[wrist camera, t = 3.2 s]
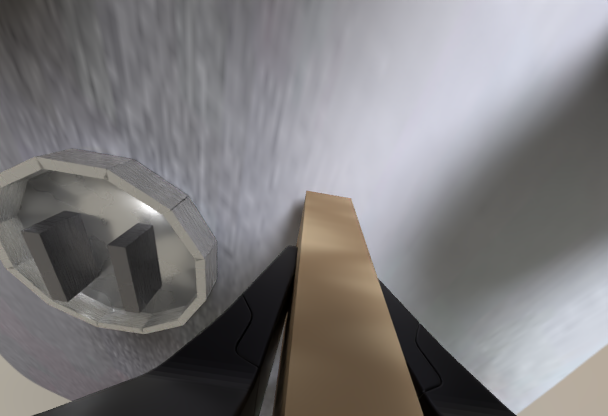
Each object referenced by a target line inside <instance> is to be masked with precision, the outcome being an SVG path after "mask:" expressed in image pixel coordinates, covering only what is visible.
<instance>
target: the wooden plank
mask: <svg viewBox="0 0 608 416" xmlns="http://www.w3.org/2000/svg"><path fill="white" fill-rule="evenodd" d="M296 247H298V252H297V263H296V272H295V277H294V282H293V287H292V292H291V297H290V302H289V307H288V311H287V315H286V319H285V326H284V334H283V341H282V348H281V356H280V363H279V371H278V378H277V385H276V393H275V400H274V407H273V415H272V416H424V415H423V412H422V409H421V406H420V403H419V400H418V397H417V394H416V391H415V388H414V385H413V382H412V379H411V376H410V373H409V370H408V367H407V364H406V361H405V358H404V355H403V352H402V350H401V347H400V344H399V341H398V338H397V335H396V332H395V329H394V326H393V323H392V320H391V317H390V314H389V311H388V308H387V305H386V302H385V299H384V296H383V293H382V290H381V287H380V284H379V281H378V278H377V275H376V272H375V269H374V266H373V263H372V260H371V257H370V254H369V251H368V248H367V245H366V242H365V239H364V236H363V233H362V230H361V227H360V224H359V221H358V218H357V215H356V212H355V209H354V206H353V203H352V200H351V198H345V197H340V196H334V195H328V194H322V193H317V192H311V191H306V197H305V202H304V207H303V212H302V218H301V223H300V228H299V234H298V239H297V244H296Z"/></svg>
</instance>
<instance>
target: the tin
mask: <svg viewBox="0 0 608 416" xmlns="http://www.w3.org/2000/svg"><path fill="white" fill-rule="evenodd" d="M0 259H1V261H2V263H3V265H4V267H5V268H6V269H7V270H8V271H9V272H10V273H12V274H13V275H14V276H15V277H16V278H18V279H19V280H20V281H21V282H22V283H23V284H25V285H26V286H27V287H28V288H29V289H30V290H32V291H33V292H34V293H35V294H36V295H38V296H39V297H40V298H41V299H42V300H43V301H45V302H46V303H47V304H49V305H50V306H52V307H55V308H57V309H59V310H61V311H63V312H65V313H68V314H70V315H72V316H74V317H76V318H79V319H81V320H83V321H85V322H87V323H90V324H92V325H94V326H96V327H97V326H98V327H100V328H107V329H113V330H120V331H126V332H133V333H140V334H148V333H152V332H156V331H161V330H165V329H169V328H174V327H178V326H182V325H184V324H185V323H186V322H187V320H188V319H189V318H190V317H191V316H192V315H193V314H194V313H195V312H196V311H197V309H198V308H199V307H200V306H201V305H202V304H203V303H204V302H205V301H206V299H207V297H208V295H209V294H210V292H211V290H212V288H213V286H214V284H215V282H216V280H217V240H216V239H215V237H214V235H213V234H212V232H211V231H210V229H209V228H208V226H207V224H206V223H205V221H204V220H203V218H202V216H201V215H200V213H199V212H198V210H197V209H196V207H195V205H194V204H193V202H192V201H191V199H190V198H189V197H188V195H186V194H185V193H183V192H182V191H180V190H179V189H177V188H176V187H174V186H173V185H171V184H170V183H168V182H167V181H165V180H164V179H162V178H161V177H159V176H158V175H156V174H155V173H153V172H152V171H150V170H149V169H147V168H146V167H144V166H143V165H141V164H140V163H138V162H137V161H136V160H133V159H129V158H123V157H117V156H112V155H106V154H100V153H94V152H89V151H83V150H77V149H68V150H63V151H59V152H54V153H50V154H45V155H41V156H36V157H33V158H31V159H29V160H27V161H25V162H23V163H21V164H19V165H17V166H14V167H12V168H10V169H8V170H6V171H4V172H2V173H0Z"/></svg>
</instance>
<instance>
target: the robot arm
mask: <svg viewBox="0 0 608 416" xmlns="http://www.w3.org/2000/svg"><path fill="white" fill-rule="evenodd" d="M297 252H298V247H296V246H288V247H287V248H286V249H285V250H284V251H283V252H282V253H281V254H280V255H279V256H278V257H277V258H276V259H275V260H274V261H273V262H272V263H271V264H270V265H269V266H268V268H267V269H266V270H265V271H264V272H263V273H262V274H261V275H260V276H259V277H258V278H257V279H256V280H255V281H254V282H253V283H252V284H251V285H250V286H249V287H248V288H247V290H246V291H245V292H244V293H243V294H242V295H241V296H240V297H239V298H238V299H237V300H236V301H235V302H234V303H233V304H232V305H231V306H230V307H229V308H228V309H227V310H226V311H225V312H224V313H223V314H222V315H221V316H219V317H218V318H217V319H216V320H215V321H214V322H212V323H211V324H210V325H209V326H208V327H207V328H205V329H204V330H203V331H202V332H201V333H199V334H198V335H197V336H196V337H194V338H193V339H192V340H191V341H190V342H188V343H187V344H186V345H185V346H184V347H182V348H181V349H180V350H179V351H178V352H176V353H175V354H174V355H173V356H171V357H170V358H169V359H168V360H166V361H165V362H164V363H162V364H161V365H159V366H158V367H156V368H154V369H153V370H151V371H149V372H147V373H145V374H143V375H141V376H138V377H136V378H133V379H130V380H128V381H125V382H122V383H120V384H117V385H114V386H112V387H109V388H106V389H104V390H101V391H98V392H96V393H93V394H90V395H88V396H85V397H82V398H80V399H77V400H74V401H72V402H69V403H67V404H64V405H61V406H59V407H56V408H53V409H51V410H48V411H45V412H42V413H39V414H36V415H33V416H259V413H260V410H261V406H262V402H263V399H264V395H265V391H266V388H267V384H268V381H269V377H270V373H271V370H272V366H273V362H274V359H275V355H276V351H277V348H278V344H279V341H280V337H281V333H282V330H283V326H284V322H285V319H286V315H287V311H288V307H289V302H290V297H291V292H292V287H293V282H294V277H295V272H296V263H297ZM378 281H379V284H380V287H381V290H382V293H383V296H384V299H385V302H386V305H387V308H388V311H389V314H390V317H391V320H392V323H393V326H394V329H395V332H396V335H397V338H398V341H399V344H400V347H401V350H402V352H403V355H404V358H405V361H406V364H407V367H408V370H409V373H410V376H411V379H412V382H413V385H414V388H415V391H416V394H417V397H418V400H419V403H420V406H421V409H422V412H423V415H424V416H517V415H515V414H514V413H513V412H512V411H510V410H509V409H508V408H507V407H506V406H505V405H504V404H503V403H502V402H500V401H499V400H498V399H497V398H496V397H495V396H494V395H493V394H492V393H491V392H490V391H489V390H488V389H487V388H486V387H484V386H483V385H482V384H481V383H480V382H479V381H478V380H477V379H476V378H475V377H474V376H473V375H472V374H471V373H470V372H468V371H467V370H466V369H465V368H464V367H463V366H462V365H461V364H460V363H459V362H458V361H457V360H456V359H455V358H454V357H453V356H452V355H451V354H450V353H449V352H448V351H446V350H445V349H444V348H443V347H442V346H441V345H440V344H439V342H438V341H437V340H436V339H435V338H434V337H433V336H432V335H431V334H430V333H429V332H428V331H427V330H426V329H425V328H424V327H423V326H422V325H421V324H419V322H418V320H417V319H416V318H415V317H414V316H413V315H412V314H411V313H410V312H409V311H408V310H407V309H406V308H405V307H404V306H403V304H402V303H401V302H400V301H399V300H398V299H397V298H396V297H395V296H394V295H393V294H392V293H391V292H390V291H389V289H388V288H387V287H386V286H385V285H384V284H383V283H382V282H381V281H380V280H379V279H378Z"/></svg>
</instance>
